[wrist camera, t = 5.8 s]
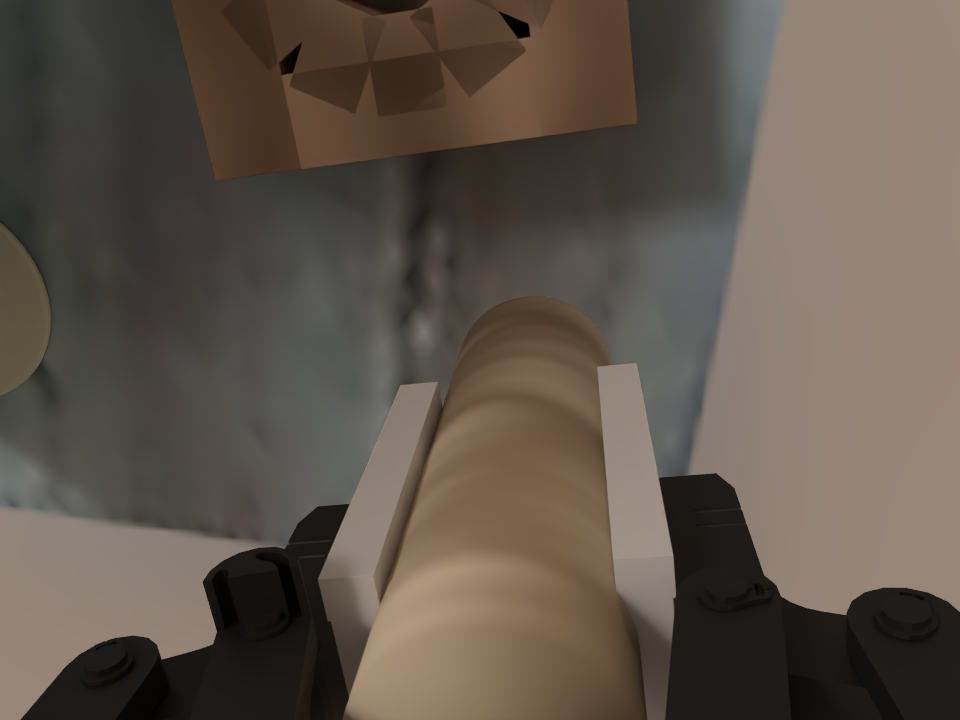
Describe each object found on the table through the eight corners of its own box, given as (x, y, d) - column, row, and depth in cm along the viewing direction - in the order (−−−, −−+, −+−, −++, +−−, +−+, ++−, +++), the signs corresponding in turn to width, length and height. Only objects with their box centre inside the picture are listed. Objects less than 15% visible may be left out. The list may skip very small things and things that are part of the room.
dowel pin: (471, 443, 23) (371, 873, 11) (448, 305, 21) (310, 638, 10) (617, 430, 22) (662, 865, 11) (603, 287, 21) (636, 617, 10)
